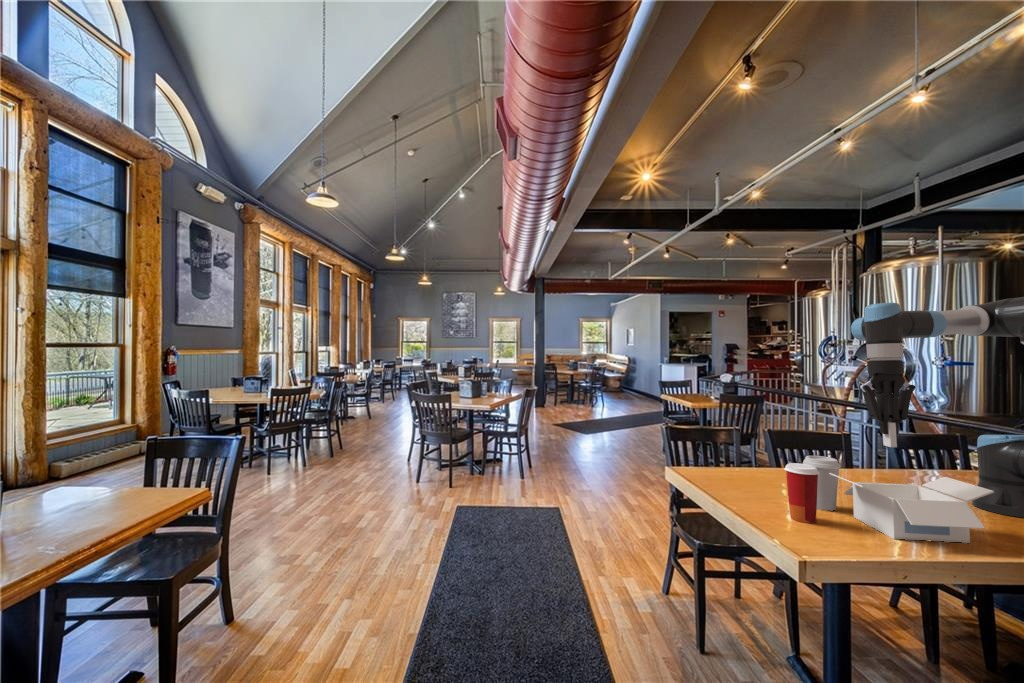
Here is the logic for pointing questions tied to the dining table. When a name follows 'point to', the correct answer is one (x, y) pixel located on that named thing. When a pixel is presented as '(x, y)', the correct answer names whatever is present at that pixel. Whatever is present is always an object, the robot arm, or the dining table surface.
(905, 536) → the white carton
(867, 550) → the dining table surface
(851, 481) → the flap
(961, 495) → the flap
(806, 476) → the coffee cup
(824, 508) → the coffee cup
